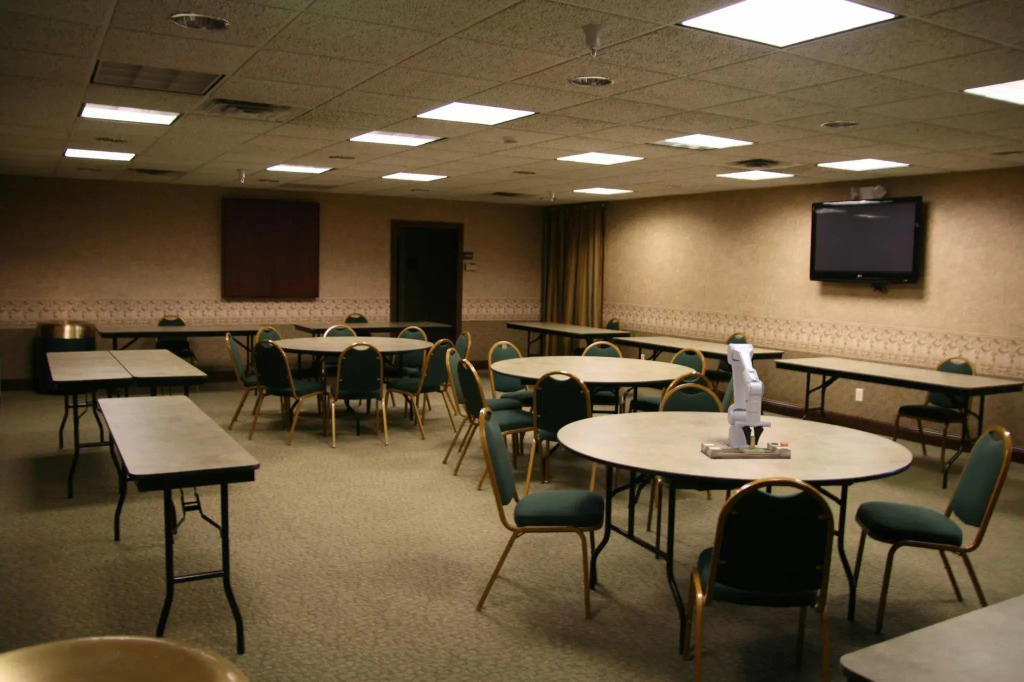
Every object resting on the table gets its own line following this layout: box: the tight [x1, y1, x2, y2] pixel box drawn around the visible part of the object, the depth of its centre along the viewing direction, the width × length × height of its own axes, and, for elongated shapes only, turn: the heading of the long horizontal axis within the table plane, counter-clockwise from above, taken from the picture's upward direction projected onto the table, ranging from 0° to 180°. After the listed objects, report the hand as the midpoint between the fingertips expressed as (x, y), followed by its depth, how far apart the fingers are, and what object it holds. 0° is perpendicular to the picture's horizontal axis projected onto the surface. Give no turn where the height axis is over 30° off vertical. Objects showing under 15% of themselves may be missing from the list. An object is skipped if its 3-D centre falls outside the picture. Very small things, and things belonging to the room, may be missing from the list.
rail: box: [700, 442, 792, 460], centre depth 322 cm, size 14×32×4 cm, turn 95°
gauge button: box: [779, 441, 789, 448], centre depth 318 cm, size 3×3×1 cm
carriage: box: [739, 435, 765, 453], centre depth 322 cm, size 7×8×6 cm
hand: (751, 444), depth 322 cm, fingers closed on carriage, 2 cm apart
